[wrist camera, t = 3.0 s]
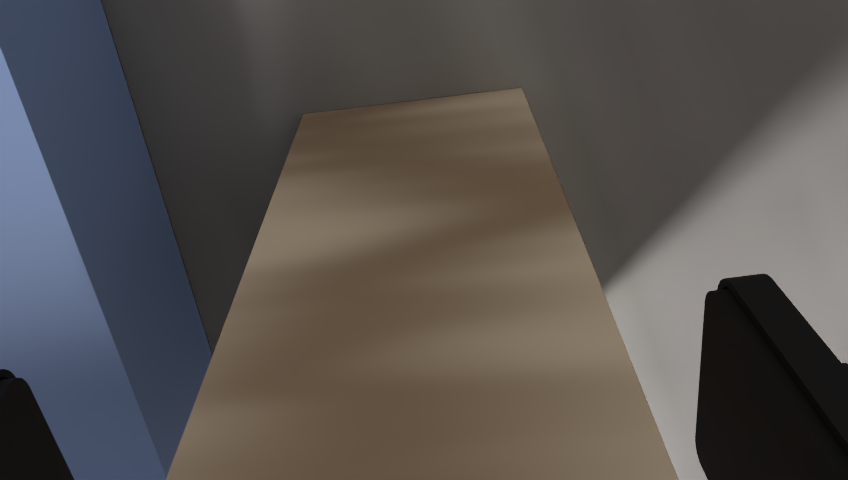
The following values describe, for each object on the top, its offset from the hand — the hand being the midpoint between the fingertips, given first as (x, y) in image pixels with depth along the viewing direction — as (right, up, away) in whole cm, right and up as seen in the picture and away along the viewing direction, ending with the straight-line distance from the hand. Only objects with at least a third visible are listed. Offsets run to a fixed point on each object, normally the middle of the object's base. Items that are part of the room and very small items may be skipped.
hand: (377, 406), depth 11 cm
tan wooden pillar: (+1, +2, +5) cm, 5 cm away
